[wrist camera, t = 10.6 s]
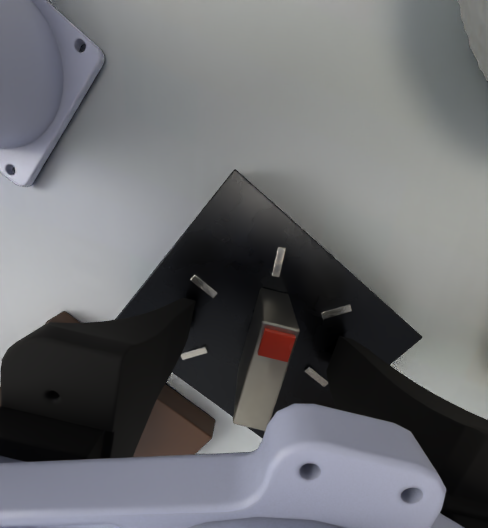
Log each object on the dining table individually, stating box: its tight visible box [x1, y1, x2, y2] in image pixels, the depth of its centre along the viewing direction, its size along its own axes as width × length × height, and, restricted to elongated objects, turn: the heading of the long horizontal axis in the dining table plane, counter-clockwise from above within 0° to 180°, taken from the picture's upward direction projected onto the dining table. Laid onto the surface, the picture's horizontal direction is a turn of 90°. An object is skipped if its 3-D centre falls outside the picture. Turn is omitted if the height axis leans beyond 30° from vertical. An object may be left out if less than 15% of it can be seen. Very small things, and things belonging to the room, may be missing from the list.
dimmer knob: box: [233, 288, 300, 431], centre depth 11 cm, size 5×1×4 cm, turn 166°
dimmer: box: [115, 169, 422, 438], centre depth 14 cm, size 12×10×3 cm
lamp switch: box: [0, 311, 215, 457], centre depth 17 cm, size 12×10×3 cm
